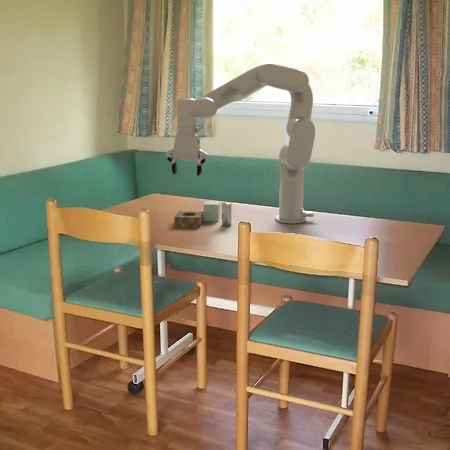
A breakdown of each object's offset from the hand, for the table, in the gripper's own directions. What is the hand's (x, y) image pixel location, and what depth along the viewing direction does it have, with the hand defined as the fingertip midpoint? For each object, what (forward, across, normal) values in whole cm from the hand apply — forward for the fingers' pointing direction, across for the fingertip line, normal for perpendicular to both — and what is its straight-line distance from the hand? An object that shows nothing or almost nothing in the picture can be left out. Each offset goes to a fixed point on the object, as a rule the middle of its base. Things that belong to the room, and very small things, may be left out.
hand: (186, 174), depth 250 cm
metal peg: (+20, -16, 0) cm, 25 cm away
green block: (+20, -9, -8) cm, 23 cm away
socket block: (+20, -1, +1) cm, 20 cm away
